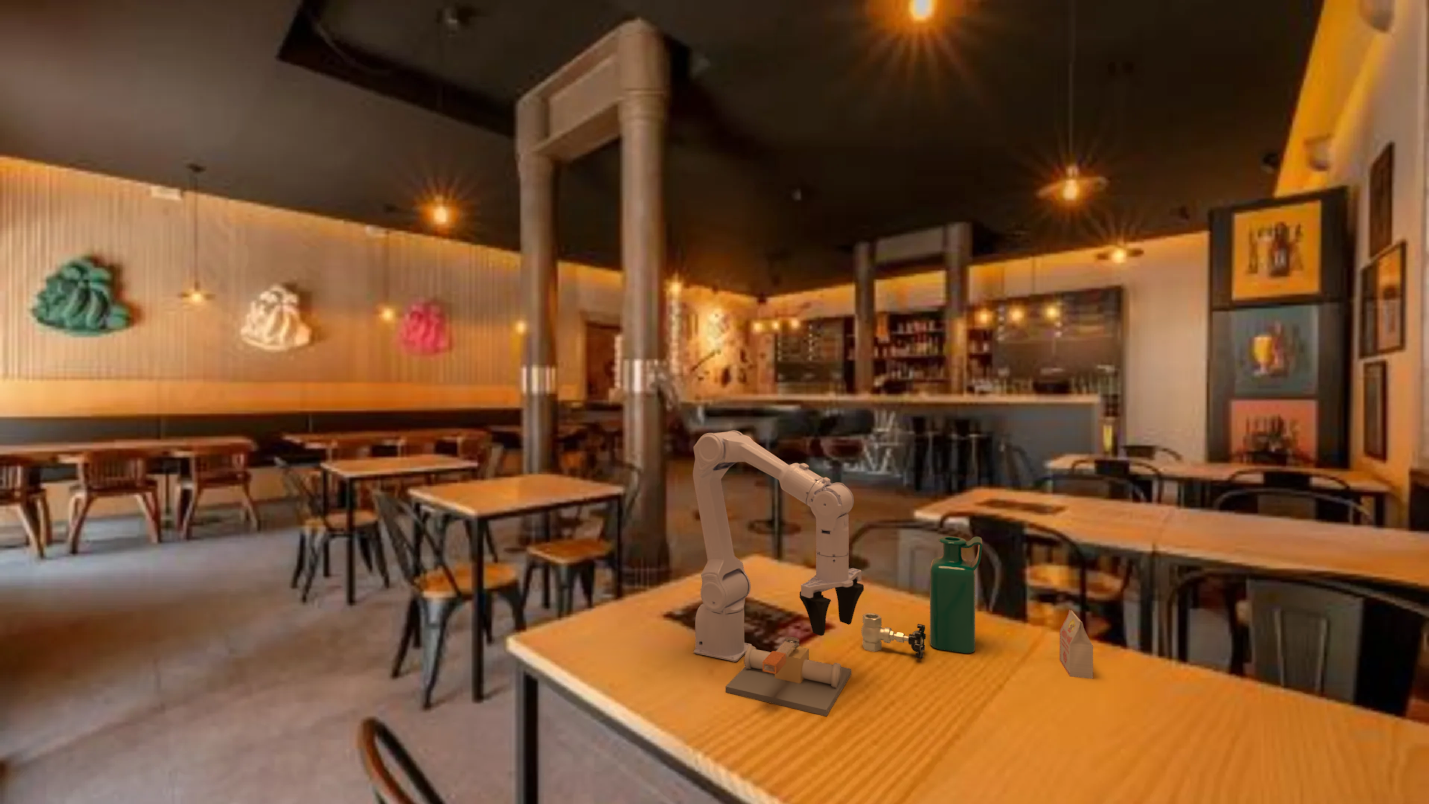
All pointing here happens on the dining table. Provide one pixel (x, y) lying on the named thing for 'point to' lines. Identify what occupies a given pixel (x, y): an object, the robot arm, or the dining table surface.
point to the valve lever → (780, 655)
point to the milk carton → (1076, 648)
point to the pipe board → (791, 681)
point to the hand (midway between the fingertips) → (832, 628)
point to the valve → (889, 635)
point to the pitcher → (953, 596)
